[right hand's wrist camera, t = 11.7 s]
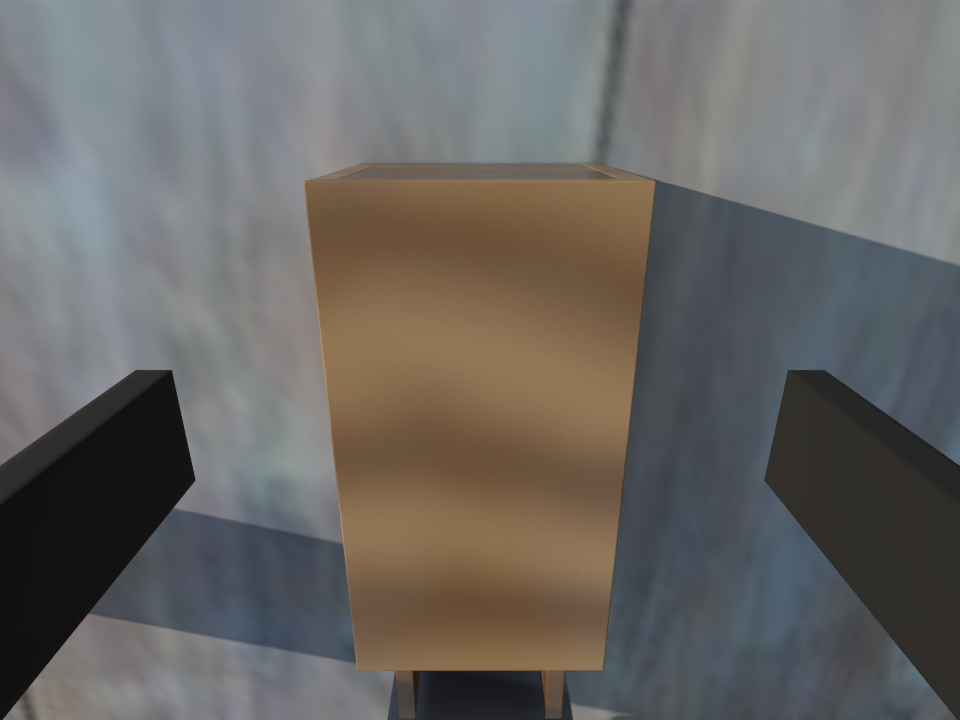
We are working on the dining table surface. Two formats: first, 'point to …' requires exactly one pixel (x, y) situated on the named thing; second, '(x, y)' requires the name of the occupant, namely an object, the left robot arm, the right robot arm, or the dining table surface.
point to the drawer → (480, 695)
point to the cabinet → (479, 403)
